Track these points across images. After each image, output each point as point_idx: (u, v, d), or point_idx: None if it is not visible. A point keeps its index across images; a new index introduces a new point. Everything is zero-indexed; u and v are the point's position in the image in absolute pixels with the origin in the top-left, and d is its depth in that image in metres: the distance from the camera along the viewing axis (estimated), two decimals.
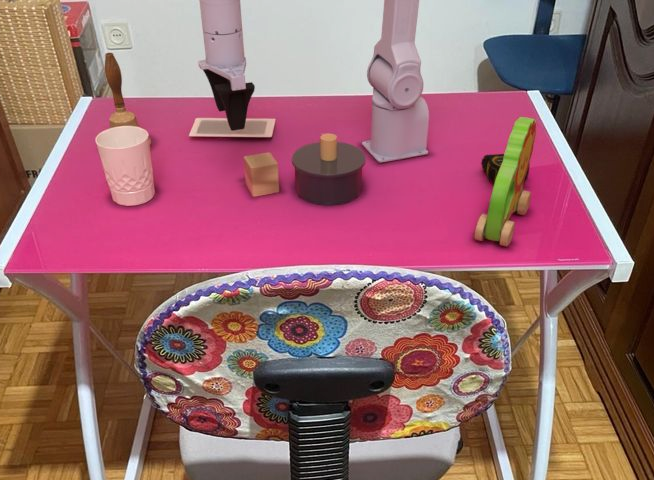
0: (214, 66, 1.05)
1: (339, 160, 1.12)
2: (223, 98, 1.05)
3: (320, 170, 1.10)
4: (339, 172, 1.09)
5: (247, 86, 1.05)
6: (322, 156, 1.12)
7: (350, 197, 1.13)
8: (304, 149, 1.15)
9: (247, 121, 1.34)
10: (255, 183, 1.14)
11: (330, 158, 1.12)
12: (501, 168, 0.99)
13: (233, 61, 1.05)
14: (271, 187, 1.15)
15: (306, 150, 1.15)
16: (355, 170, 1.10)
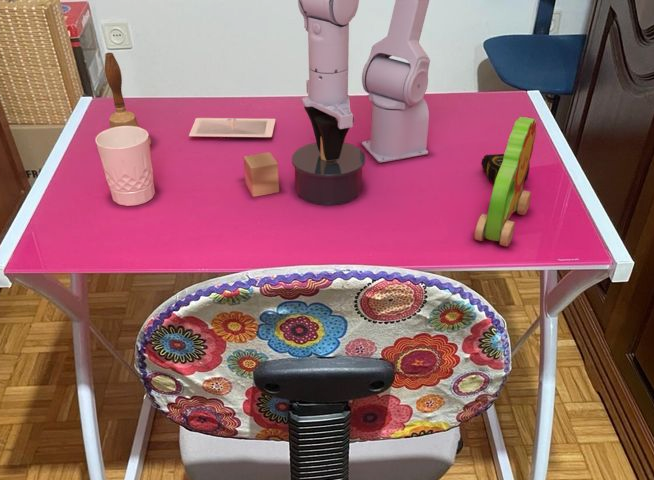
0: (319, 104, 1.05)
1: (339, 160, 1.12)
2: (323, 130, 1.06)
3: (320, 170, 1.10)
4: (339, 172, 1.09)
5: None
6: (322, 156, 1.12)
7: (350, 197, 1.13)
8: (304, 149, 1.15)
9: (247, 121, 1.34)
10: (255, 183, 1.14)
11: None
12: (501, 168, 0.99)
13: (338, 99, 1.05)
14: (271, 187, 1.15)
15: (306, 150, 1.15)
16: (355, 170, 1.10)
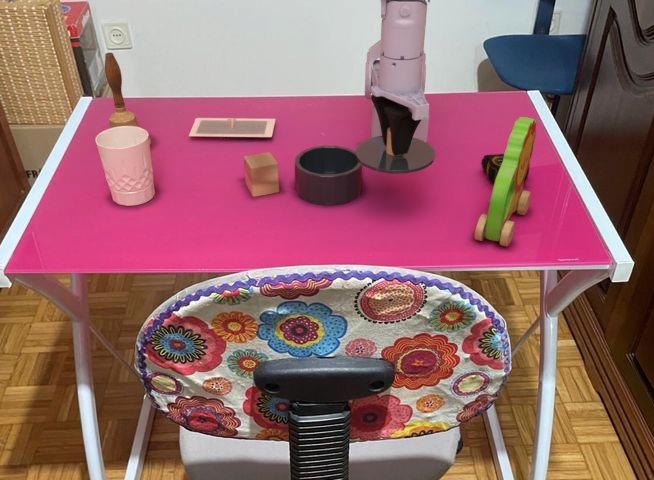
0: (391, 93, 0.97)
1: (407, 155, 1.04)
2: (394, 121, 0.98)
3: (388, 165, 1.02)
4: (409, 168, 1.01)
5: None
6: (389, 150, 1.04)
7: (350, 197, 1.13)
8: (367, 143, 1.07)
9: (247, 121, 1.34)
10: (255, 183, 1.14)
11: None
12: (501, 168, 0.99)
13: (412, 88, 0.96)
14: (271, 187, 1.15)
15: (370, 144, 1.07)
16: (425, 165, 1.02)
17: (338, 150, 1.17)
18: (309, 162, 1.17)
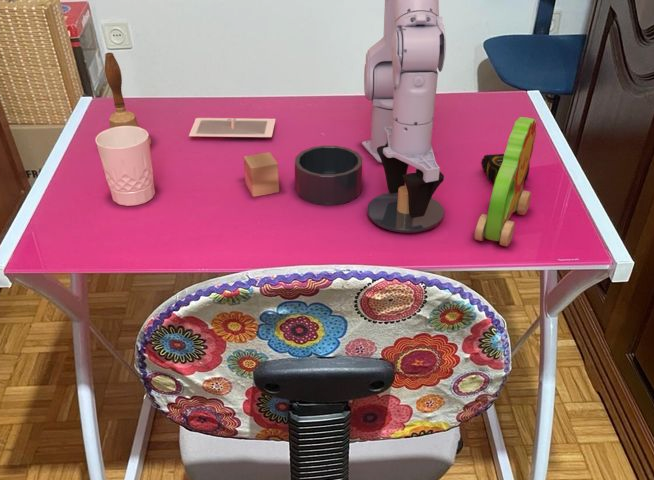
0: (402, 155, 1.01)
1: None
2: (412, 189, 1.01)
3: (399, 224, 1.06)
4: (419, 227, 1.06)
5: None
6: (399, 209, 1.09)
7: (350, 197, 1.13)
8: (378, 200, 1.12)
9: (247, 121, 1.34)
10: (255, 183, 1.14)
11: (408, 211, 1.08)
12: (501, 168, 0.99)
13: (422, 150, 1.01)
14: (271, 187, 1.15)
15: (381, 201, 1.12)
16: (435, 224, 1.07)
17: (338, 150, 1.17)
18: (309, 162, 1.17)
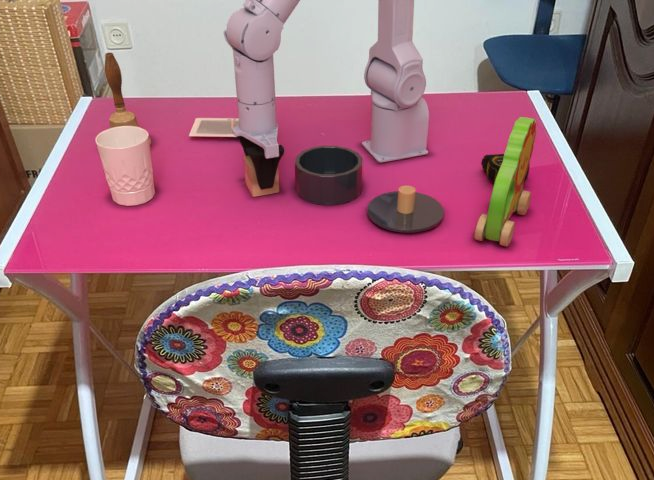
0: (248, 133, 1.08)
1: (417, 213, 1.09)
2: (254, 161, 1.09)
3: (399, 224, 1.06)
4: (419, 227, 1.06)
5: None
6: (399, 209, 1.09)
7: (350, 197, 1.13)
8: (378, 200, 1.12)
9: None
10: (255, 183, 1.14)
11: (408, 211, 1.08)
12: (501, 168, 0.99)
13: (266, 128, 1.08)
14: None
15: (381, 201, 1.12)
16: (435, 224, 1.07)
17: (338, 150, 1.17)
18: (309, 162, 1.17)
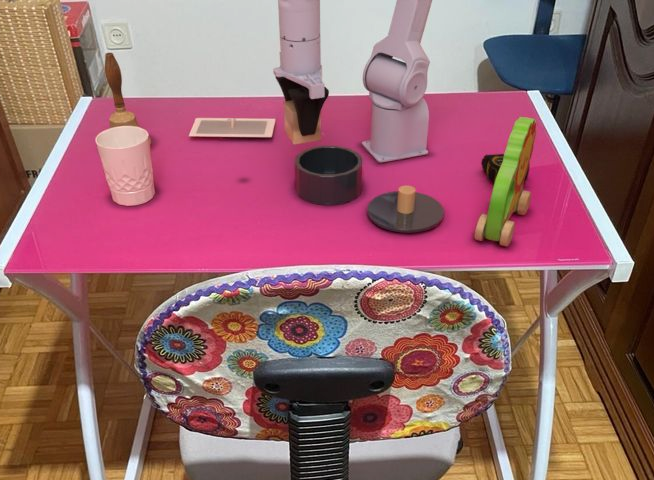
0: (291, 74, 1.02)
1: (417, 213, 1.09)
2: (297, 103, 1.03)
3: (399, 224, 1.06)
4: (419, 227, 1.06)
5: None
6: (399, 209, 1.09)
7: (350, 197, 1.13)
8: (378, 200, 1.12)
9: (247, 121, 1.34)
10: (297, 129, 1.08)
11: (408, 211, 1.08)
12: (501, 168, 0.99)
13: (310, 68, 1.02)
14: (313, 134, 1.09)
15: (381, 201, 1.12)
16: (435, 224, 1.07)
17: (338, 150, 1.17)
18: (309, 162, 1.17)
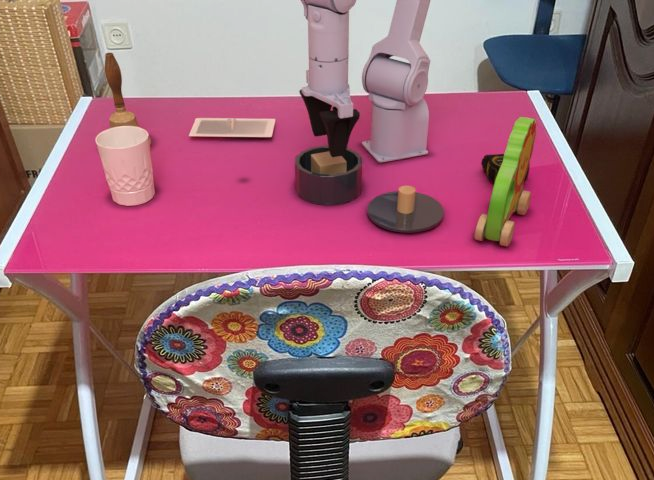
0: (319, 93, 1.04)
1: (417, 213, 1.09)
2: (328, 125, 1.03)
3: (399, 224, 1.06)
4: (419, 227, 1.06)
5: (352, 113, 1.04)
6: (399, 209, 1.09)
7: (350, 197, 1.13)
8: (378, 200, 1.12)
9: (247, 121, 1.34)
10: None
11: (408, 211, 1.08)
12: (501, 168, 0.99)
13: (338, 88, 1.04)
14: None
15: (381, 201, 1.12)
16: (435, 224, 1.07)
17: None
18: (309, 162, 1.17)
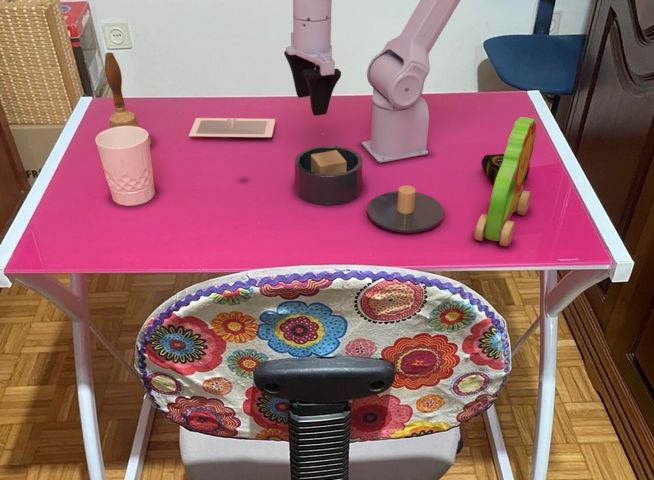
0: (302, 52, 1.08)
1: (417, 213, 1.09)
2: (311, 83, 1.08)
3: (399, 224, 1.06)
4: (419, 227, 1.06)
5: (334, 72, 1.09)
6: (399, 209, 1.09)
7: (350, 197, 1.13)
8: (378, 200, 1.12)
9: (247, 121, 1.34)
10: None
11: (408, 211, 1.08)
12: (501, 168, 0.99)
13: (321, 47, 1.08)
14: None
15: (381, 201, 1.12)
16: (435, 224, 1.07)
17: (338, 150, 1.17)
18: (309, 162, 1.17)
